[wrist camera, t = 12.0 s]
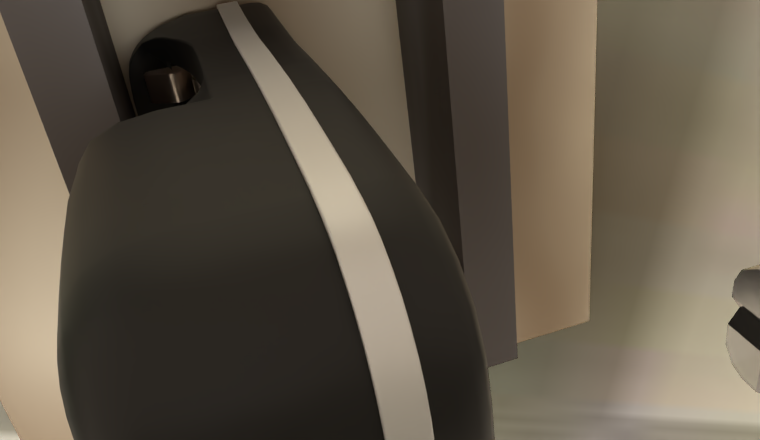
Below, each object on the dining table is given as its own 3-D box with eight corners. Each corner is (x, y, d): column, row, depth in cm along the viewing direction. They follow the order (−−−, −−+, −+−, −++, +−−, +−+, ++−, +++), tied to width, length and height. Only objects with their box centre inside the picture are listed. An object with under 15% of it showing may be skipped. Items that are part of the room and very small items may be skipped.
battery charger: (74, 18, 14) (-51, 399, 5) (264, -17, 15) (504, 247, 5) (167, 304, 18) (209, 867, 8) (319, 264, 18) (524, 736, 9)
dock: (566, -311, 16) (707, -359, 12) (564, 294, 23) (648, 383, 20) (-274, -212, 12) (-452, -234, 9) (50, 446, 20) (31, 587, 17)
